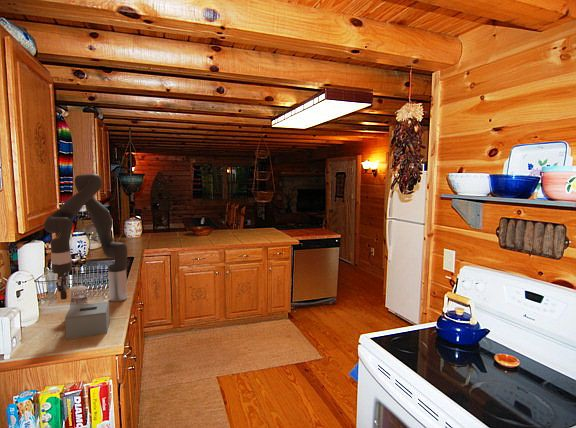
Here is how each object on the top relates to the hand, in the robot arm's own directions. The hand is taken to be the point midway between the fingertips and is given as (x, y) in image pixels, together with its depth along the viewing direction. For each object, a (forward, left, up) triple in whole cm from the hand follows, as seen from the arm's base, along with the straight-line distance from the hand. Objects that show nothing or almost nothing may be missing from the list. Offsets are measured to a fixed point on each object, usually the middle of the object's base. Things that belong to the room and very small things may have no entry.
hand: (64, 298), depth 157 cm
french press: (-19, +2, -17) cm, 25 cm away
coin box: (0, +9, -17) cm, 19 cm away
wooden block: (0, 0, -2) cm, 2 cm away
